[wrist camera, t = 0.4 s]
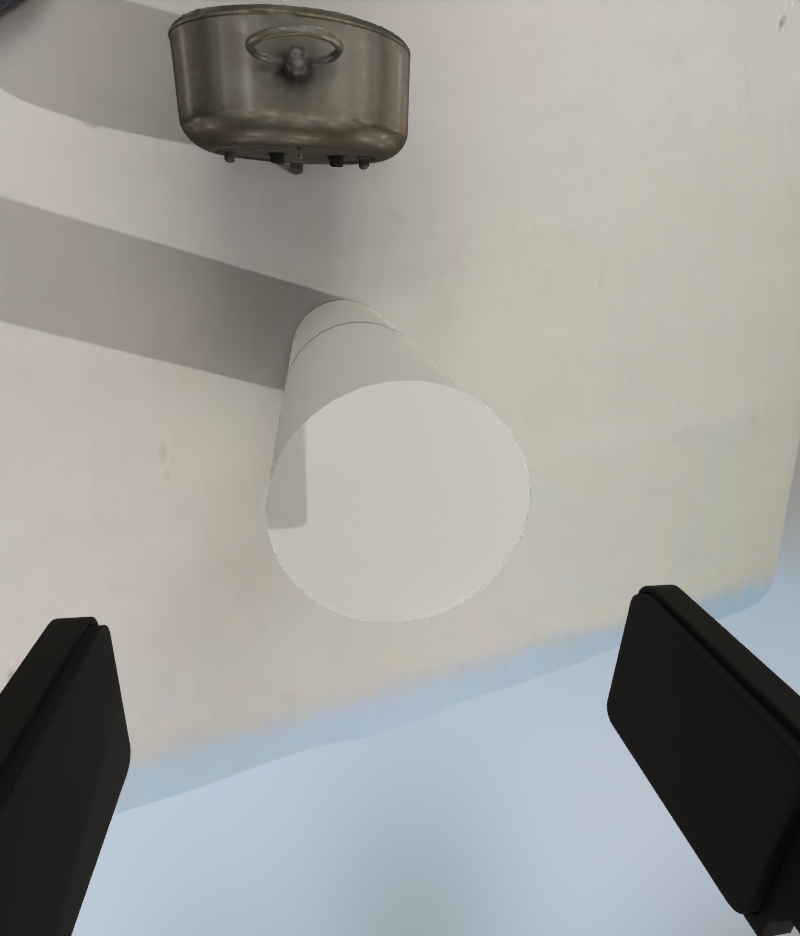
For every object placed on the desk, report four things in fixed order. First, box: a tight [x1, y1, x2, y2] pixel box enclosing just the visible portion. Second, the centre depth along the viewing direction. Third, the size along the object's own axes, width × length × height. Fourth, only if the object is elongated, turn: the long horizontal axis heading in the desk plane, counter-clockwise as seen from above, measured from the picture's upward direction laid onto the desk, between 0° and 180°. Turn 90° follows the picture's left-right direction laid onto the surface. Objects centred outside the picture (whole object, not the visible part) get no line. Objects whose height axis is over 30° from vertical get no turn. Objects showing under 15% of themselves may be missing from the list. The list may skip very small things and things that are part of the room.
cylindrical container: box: [266, 300, 531, 623], centre depth 26 cm, size 7×7×25 cm
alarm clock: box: [168, 4, 410, 174], centre depth 25 cm, size 11×5×16 cm, turn 89°
